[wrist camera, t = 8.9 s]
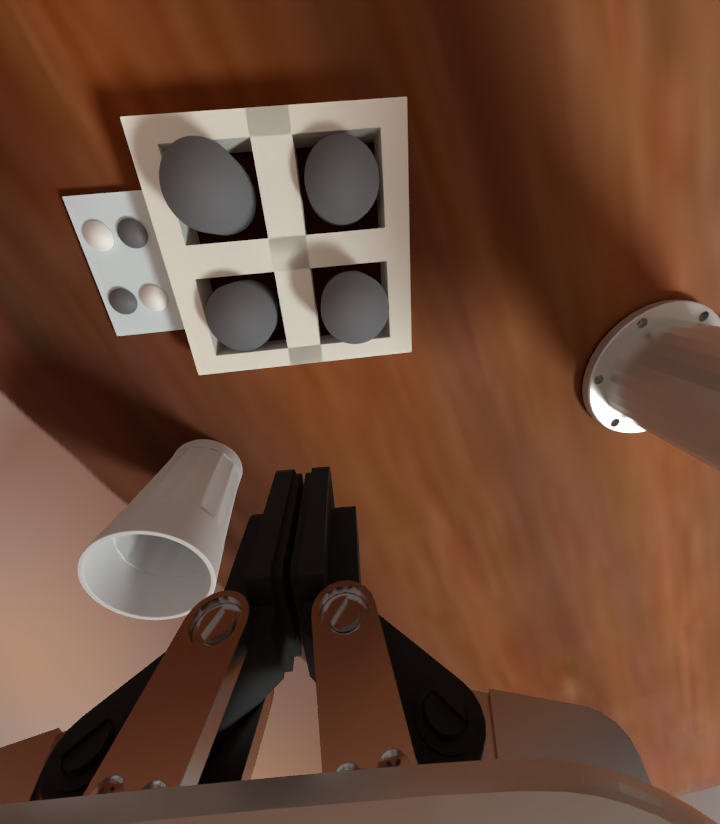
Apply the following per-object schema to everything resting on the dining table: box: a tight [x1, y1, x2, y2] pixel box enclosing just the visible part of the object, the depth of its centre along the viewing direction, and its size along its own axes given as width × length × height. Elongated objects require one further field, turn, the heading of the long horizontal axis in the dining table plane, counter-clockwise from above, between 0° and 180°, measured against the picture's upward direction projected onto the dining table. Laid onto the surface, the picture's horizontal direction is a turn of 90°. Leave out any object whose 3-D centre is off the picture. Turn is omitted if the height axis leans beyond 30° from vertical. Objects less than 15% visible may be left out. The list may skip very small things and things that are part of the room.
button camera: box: [159, 136, 257, 236], centre depth 20 cm, size 4×4×4 cm
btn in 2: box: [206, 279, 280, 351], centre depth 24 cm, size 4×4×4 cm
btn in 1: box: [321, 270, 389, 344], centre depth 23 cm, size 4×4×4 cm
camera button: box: [304, 133, 379, 227], centre depth 21 cm, size 4×4×4 cm
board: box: [120, 97, 412, 375], centre depth 24 cm, size 16×15×3 cm
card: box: [62, 190, 184, 336], centre depth 24 cm, size 5×9×1 cm, turn 4°
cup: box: [77, 439, 242, 620], centre depth 27 cm, size 8×8×12 cm
